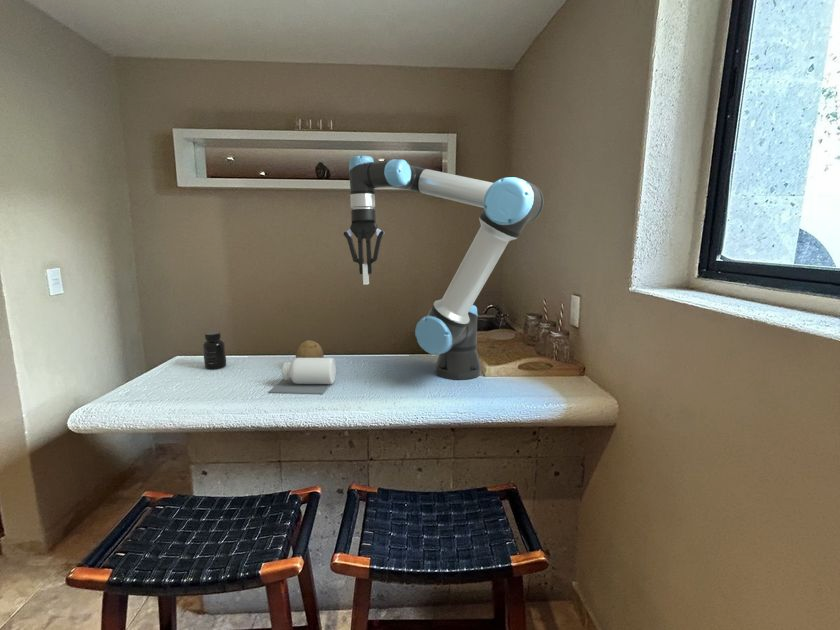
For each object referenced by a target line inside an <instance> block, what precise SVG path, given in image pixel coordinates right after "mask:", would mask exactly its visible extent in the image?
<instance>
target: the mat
mask: <svg viewBox="0 0 840 630" xmlns="http://www.w3.org/2000/svg"><path fill="white" fill-rule="evenodd" d="M330 386H331V384H296V383H294V382H293V381H292V379H291V380H290V379H289V380H284V379H283V378H282V379H281V380H280V381H279V382H277V383H276V384H275V385H273V387H272V388H271V389H269V390H268V391H267V393H269V394H289V395H290V394H291V395H292V394H293V395H294V394H295V395H324V393H326V391H327V390H328V388H329V387H330Z"/></svg>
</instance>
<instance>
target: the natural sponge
mask: <svg viewBox="0 0 840 630" xmlns="http://www.w3.org/2000/svg"><path fill="white" fill-rule="evenodd" d="M324 356H325V355H324V351H323V348H322V346H321V345H320V344H319V343H318V342H316V341H314V340H311V339H310V340H305V341H303V342H302V343H300V345H299V346H298V348H297V350H296V353H295V359H296V358H325V357H324Z"/></svg>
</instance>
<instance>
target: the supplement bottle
mask: <svg viewBox="0 0 840 630" xmlns="http://www.w3.org/2000/svg"><path fill="white" fill-rule="evenodd" d="M221 338H222V335H221V331H209V332H206V333H204V340H205V341H204V342H203V343H202V351H203V360H204V367H205V369H206V370H212V371H215V370H220V369H223V368H225V367H226V366H227V357H226V356H227V355H226V347H225V346H226V345H225V341H224V340H223V339H221Z"/></svg>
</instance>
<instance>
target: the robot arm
mask: <svg viewBox="0 0 840 630" xmlns="http://www.w3.org/2000/svg"><path fill="white" fill-rule="evenodd" d="M348 162H349V163H348V164H349V166H348V175H349V187H350V195H349V196H350V197H349V198H350V208H351V210H350V214H351V215H350V218H351V224H350V227H349V229H348V230H347V231H344V232H343V236H344V237H345V238H346V241H347V244H348V247H349V252H350V254H351V258H352V261H353V263H356V264H358V266H359V269H358V270H359V271H358V272H359V274H360V275H362V281H363V283H362V284H363V286H365V285H369V284H370V277H369V276H370V275H372V273H373V271H372V270H373V263H374V262H377V261H378V258H379V253H380V248H381V243H382V239H383V238H384V235H385V231H384V230H381V229H379V227H378V225H377V221H376V219H377V218H376V217H377V216H376V209H374V208H375V207H376V198H375V197H376V195H375V190H376V189H381V188H393V189H401V190H407V191H411V192H415V193H420V194H424V195H428V196H433V197H437V198H440V199H441V198H442V199H445V200H449V201H453V202H458V203H461V204H465V205H470V206H475V207H479V208H483V210H482V212H481V213H480V215H479V218H478V219H479V222H480V223H479V224H480V228H479V229H478V231H477V233H476V234H475V237H474V238H473V241H472V242H471V244H470V246H469V248H468V250H467V252H466V254H465V255H464V257H463V259H462V261H461V262H460V265H459V266H458V268H457V270H456V273H455V274H454V276H453V277H452V280H451V281H450V283H449V285H448V287H447V289H446V291H445V293H444V295H443V296H442V298H441V299H438V300H435V301H434V302H433V304H432V306H431V308H430V310H429V312H428V313H427V315H426V316H423V317H422V318H421V319H420V320H419V321H418V322H417V323H416V326H415V329H414V330H415V331H414V333H415V338H416V341H417V344H418V345H419V347H420V348H421V349H422V350H424V351H425V352H426V353H427V354H430V355H435V356H437V355H438V357H437V360H436V363H435V370H434V371H435V372H434V373H435V374H436V375H437V376H438V377H442V378H445V379H451V380H470V379H475V378H478V377H480V376H481V375H482V365H481V364H482V363H481V361H480V357H479V354H478V350H477V347H478V346H477V344H478V343H477V341H478V317H479V315H478V307H477V306H476V305H475V304H474V303H475V301H476V300H477V298H478V296H479V295H480V293H481V291H482V289H483V287H484V286H485V284H486V283H487V281H488V279H489V277H490V275H491V274H492V272H493V270H494V269H495V266H496V265H497V264H498V261H499V260H500V258H501V256H502V255H503V253H504V251H505V249H506V248H507V245H508V244H509V243H510V242H511V241H514V240H517V239H518V238H519V236H520V234H521V233H522V231H523V230H524V228H525V226H526V225H528V224H531V223H532V222H534V221H535V220H537V218H539V216H541V214H542V211H543V209H544V205H545V200H544V194H543V192H542V191H541V189H540V188H539V187H538V186H537V185H535V184H534V183H532V182H529V181H526V180H524V179H522V178H519V177H515V176H514V177H513V176H510V177H502V178H500V179H497V180H496V181H495V182H490V181H487V180H481V179H476V178H471V177H467V176H462V175H459V174H458V175H457V174H451V173H447V172H442V171H438V170H433V169H429V168H423V167H419V166H415V165H410V164H409V163H408V162H407V161H406V160H405V159H396V158H395V159H390V160H382V161H381V160H380V161H374V158H373V157H372V156H370V155H353V156H351V157H350V158H349V161H348ZM353 234H354V236H355V237H356V238H357V249H358V251H357V252H358V253H357V252H356V247H355V245H354V240H353V238H352V237H353ZM375 234H376V237H377V238H376V239H375V240H376V241H375V247H374V250H373V256H372V238H373V237H374V235H375ZM364 239H365V244H366V245H365V247H366V249H365V250H366V263H365V261H364V258H365V257H364ZM357 254H358V255H357Z"/></svg>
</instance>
